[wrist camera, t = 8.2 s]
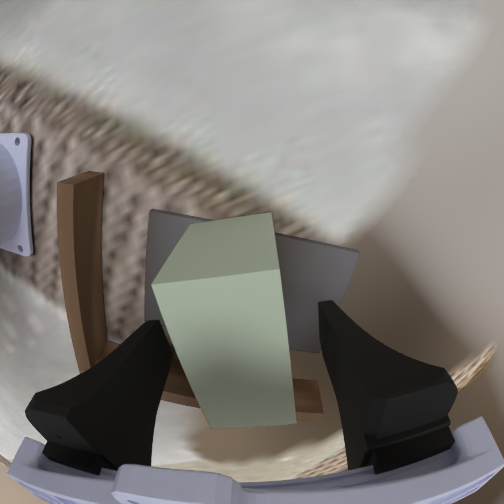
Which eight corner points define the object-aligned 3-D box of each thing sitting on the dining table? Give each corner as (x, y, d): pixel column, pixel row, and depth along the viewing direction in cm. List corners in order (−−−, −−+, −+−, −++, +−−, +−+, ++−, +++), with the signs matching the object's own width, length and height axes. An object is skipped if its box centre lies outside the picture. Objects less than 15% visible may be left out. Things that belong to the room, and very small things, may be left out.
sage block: (222, 348, 18) (210, 428, 12) (190, 224, 14) (151, 284, 9) (287, 341, 17) (296, 423, 12) (271, 212, 14) (279, 268, 9)
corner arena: (96, 346, 19) (80, 374, 16) (88, 171, 14) (57, 182, 11) (312, 389, 20) (318, 421, 17) (382, 228, 15) (406, 251, 12)
